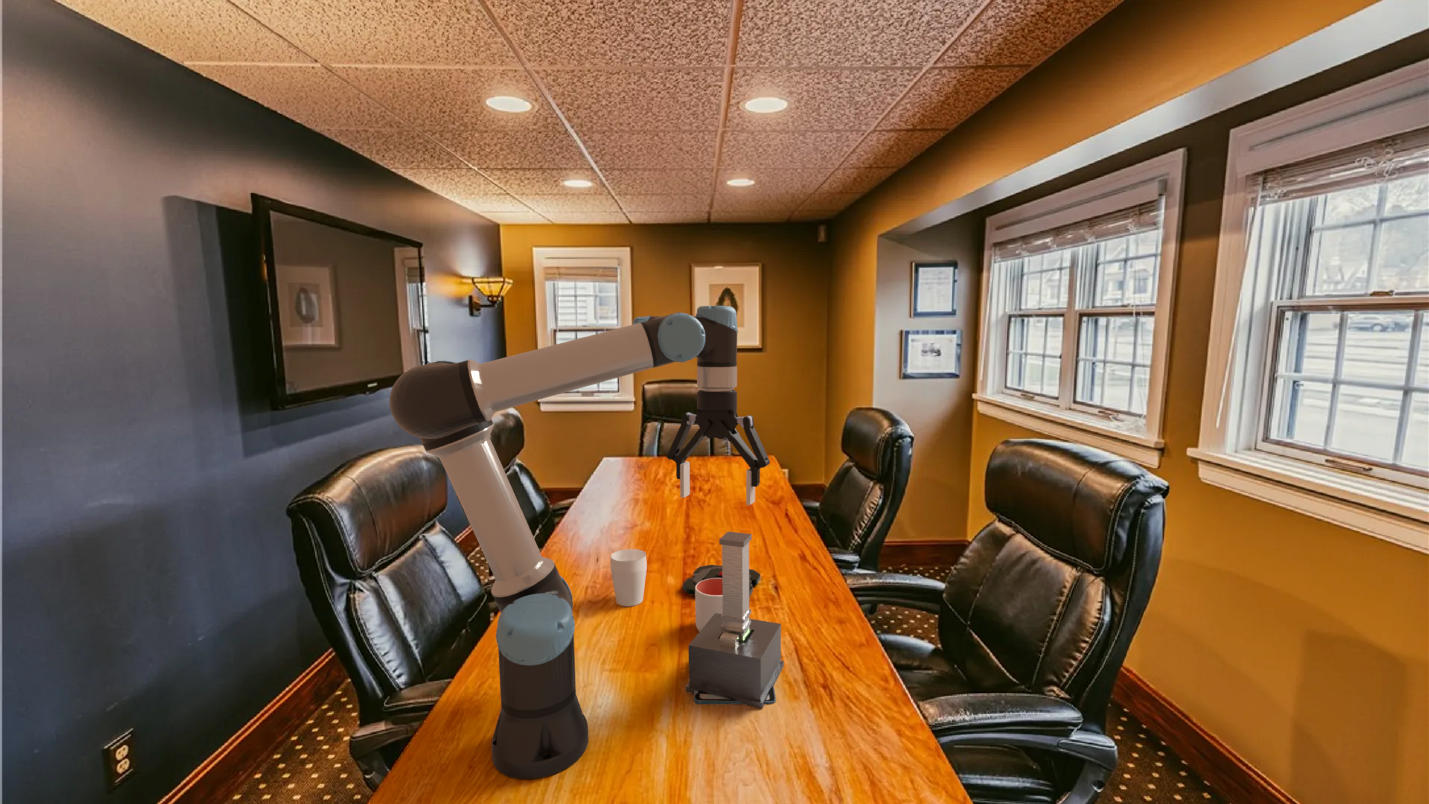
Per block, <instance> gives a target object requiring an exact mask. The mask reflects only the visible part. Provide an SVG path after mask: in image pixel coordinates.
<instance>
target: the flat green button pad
mask: <svg viewBox="0 0 1429 804" xmlns="http://www.w3.org/2000/svg"><path fill="white" fill-rule="evenodd" d="M692 573H693V575H692V577H688V578H687V579H686V580H684V582H682V590H683V591H684V592H685V593H687V594H688V595H693V596H695V586H696V585H697V584H698V583H699V582H701V581H703V580H706V579H711V578H722V565H719V564H718V565H717V564H708V565H701V566H698V567H697V568H696V569H695V570H694V571H693V572H692ZM760 581H761V573H759V572H758V571H757V570H755V569H753V568H752V569H751V568H749V598H750V596H752V594H753V592H754V589H753V588H754V586H757V585H758V584H759V582H760Z"/></svg>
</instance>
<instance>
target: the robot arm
mask: <svg viewBox="0 0 1429 804" xmlns="http://www.w3.org/2000/svg"><path fill="white" fill-rule="evenodd" d="M737 318H738V316H737V311H736V309H735V307H733V306H730V305H702V306H698V307H697V309H696V313H695V315H694V316H693V315H691V314H688V313H685V312H680V311H679V312H675V313H671V314H668V315H667V314H666V315H663V316H657V315H656V316H655V315H654V316H653V315H647V316H637V317H635V318H634V319H633V320H632V323H631V324H630V325H626V326H623V327H619V328H615V329H611V330H606V331H603V332H598V333H595V334H592V335H588V336H583V337H580V338H576V339H571V340H568V341H565V342H560V343H556V344H553V345H548V346H545V347H541V348H537V349H533V350H529V351H526V352H521V353H518V354H517V353H516V354H514V355H509V356H506V357H502V358H499V359H493V360H490V361H487V362H483V363H480V362H477V361H475V360H473V359H470V358H469V359H467V360H466V359H465V360H464V361H460V362H454V361H450V360H449V361H448V360H437V361H433V362H428V363H427V364H421V365H417V366H415V367H411V368H410V369H408V370H406V371H405V372H404V373H402V374H401V375H400V376H399V377H398V378H397V379H396V381H395V382H394V384H393V386H392V388H391V390H390V394H389V409H390V413H391V416H392V417H393V419H394V421H395V423H396V424H397V425H398V426H399V427H400V429H402V430H403V431H405V432H406V433H407V434H410V435H411V436H413V437H415V438H418V439H419V440H420V443H421V444H422V446H423V448H424V450H425V453H427V454H430V455H433V456H435V457H438V458H439V460H440V461H441V464H442V466H443V468H444V470H445V472H446V475H447V477H448V479H449V481H450V483H451V486H452V488H453V489H454V492H455V494H456V496H457V498H458V500H459V503H460V506H461V507H462V510H463V511H464V515H465V516H466V518H467V520H468V522H469V525H470V527H471V529H472V531H473V534H474V536H475V538H476V540H477V541H478V544H479V546H480V548H481V550H482V552H483V555H484V557H485V560H486V561H487V564H488V566H489V569H490V570H491V572H492V575H493V577H494V578H495V581H494V583H493V585H492V587H491V591H490V592H491V595H492V598H493V599H494V601H495V604H496V606H497V607H498V610H499V613H500V615H499V617H498V619H497V628H496V631H495V632H496V633H495V640H496V643H497V648H498V651H497V652H498V667H499V668H498V669H499V671H498V672H499V686H500V687H499V691H500V711H499V715H498V717H497V721H496V725H495V728H494V731H493V732H494V733H493V736H492V739H491V744H490V745H491V761H492V764H493V766H494V767H495V769H496V770H497V771H499V773H501V774H503V775H505V776H507V777H510V778H513V779H519V780H534V779H541V778H545V777H549V776H552V775H554V774H558V773H560V772H561V771H564V770H565V769H568V768H569V767H570V766H572V765H573V764H574V763H576V762H577V761H578V760H579V759H580V758H581V757H582V756H583V755H584V753H585V751H586V749H587V748H588V744H589V738H590V737H589V724H588V721H587V719H586V716H585V715H584V712H583V711H582V710H583V709H582V706H581V704H580V702H579V699H578V696H577V685H576V684H577V679H576V660H575V659H576V658H575V656H576V655H575V654H576V653H575V652H576V651H575V630H576V627H575V625H576V623H575V618H574V614H573V608H574V607H573V606H574V601H573V593H572V590H571V588H570V586H569V584H568V583H567V581H566V580H565V578H564V577H563V576H561V575H560V572H559V570H558V568H557V566H556V563H555V562H554V560H553V559H552V558H548V557H545V556H542V554H541V551H540V549H539V546H538V545H537V543H536V540H535V538H534V535H533V533H532V530H531V529H530V526H529V524H528V521H527V520H526V517H525V515H524V512H523V510H522V508H521V506H520V504H519V501H518V499H517V497H516V495H515V494H516V493H514V490H513V487H512V486H511V485H512V484H511V483H510V481H509V479H508V476H507V475H506V472H505V470H504V466H503V465H502V463H501V460H500V459H499V456H498V453H497V451H496V449H495V446H494V444H493V442H492V440H491V433H492V431H493V429H494V425H495V424H494V422H493V420H492V419H493V417H494V415H495V414H496V412H500V411H503V410H507V409H510V408H513V407H518V406H521V405H525V404H528V403H532V402H536V401H540V400H543V399H546V398H550V397H553V396H557V395H561V394H564V393H567V392H571V391H575V390H578V389H582V388H586V387H590V386H592V385H597V384H600V383H604V382H606V381H607V382H608V381H611V380H615V379H618V378H622V377H627V376H628V375H629V376H630V375H633V374H635V373H639V372H642V371H647V370H649V369H653V368H658V367H662V366H665V365H669V364H672V363H685V362H688V361H691V360H693V359H695V358H696V366H697V367H696V368H697V369H696V370H697V371H696V381H697V382H696V386H697V388H699V390H698V391H696V405H697V407H696V409H697V413H696V414H694V413H692V412H691V411H689V412H685V413H682V415H681V418H680V419H681V421H680V422H681V423H680V426H679V428H678V430H677V433H676V434H675V437H674V439H673V441H672V443H671V446H670V448H669V450H668V453H667V454H666V458H667V459H668V460H671V461H673V462H675V464H676V466H675V468H676V469H675V471H676V473H675V476H676V479H677V480H680V481H679V482H680V483H679V485H680V486H679V487H680V488H679V489H680V491H679V493H680V495H679V497H680V498H683V499H684V498H686V497H687V496H689V495H690V494H691V488H690V487H691V486H690V485H691V479H690V478H691V475H690V474H691V472H690V471H691V467H690V466H691V465H690V463H691V462H690V461H687V460H688V458H689V457H690V456H691V454H692V453H693V452H694V451H695V449H696V448H697V447H698V446H699V445H700V443H702V441H703V440H704V439H705V438H707V439H714V438H715V439H719V440H724V439H726V440H727V441H728V442H729V443H731V444H732V446H733V447H734V448H735V449H736V451H737V453H738V454H739V455H740V456H741V459H743V460H744V462H745V463H746V464H747V465H748V467H749V468H748V469H746V478H745V481H746V487H745V488H746V494H745V495H746V496H745V497H746V500H745V501H746V503H745V505H747V506H751V505H752V504H753V503H755V502H756V488H757V487H759V486H760V483H761V469H762V468H763V469H764V468H766V467H768V466H769V465H770V463H771V461H770V459H769V456H768V454H767V452H766V450H765V447H764V445H763V443H762V442H761V439H760V437H759V435H758V434H759V433H758V432H757V430H756V428H755V422H754V420H755V419H754V417H753V415H746V416H739V415H738V410H737V409H738V391H736V390H735V388H737V387H738V366H737V365H738V363H737V362H738V333H739V330H738V319H737ZM695 423H696V424H697V425H698V429H697V431H696V432H695V433H694V435H693V437H691V439H690V440H689V441H688V443H687V444H686V445H685V447H684V448H683V449H682V447H683V444H684V442H685V441H686V440H687V439H686V438H687V436H688V434H689V432H690V430H691V427H692V425H694V424H695ZM738 425H740V427H741V428H742V429H743V431H744V433H745V436H746V437H747V440H748V443H749V444H750V447H751V449H752V450H751V449H750V448H749V446H748V445H747V443H746V442H745V441H744V440H743V438H742V437H741V434H740V433H739V431H738V430H737V429H736V428H737V426H738ZM680 451H681V452H680Z"/></svg>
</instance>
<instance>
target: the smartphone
mask: <svg viewBox="0 0 1429 804" xmlns="http://www.w3.org/2000/svg"><path fill="white" fill-rule="evenodd" d="M693 702H694V704H696V705H742V704H741V702H740V701H736V700H732V699H728V698H724V697H719V696H715V695H711V694H707V693H703V692H699V691H695V690H694V693H693ZM776 702H777V697H776V690H775V685H773V687H772V689H771V691H770V693H769V695H768V697H767V699H766V701H765V705H773V704H776Z"/></svg>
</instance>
